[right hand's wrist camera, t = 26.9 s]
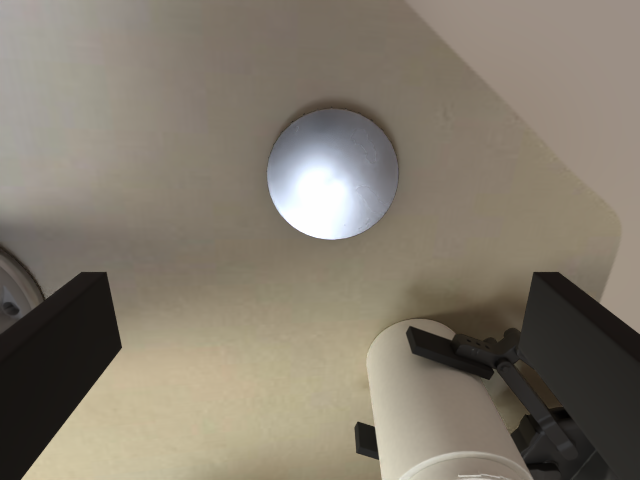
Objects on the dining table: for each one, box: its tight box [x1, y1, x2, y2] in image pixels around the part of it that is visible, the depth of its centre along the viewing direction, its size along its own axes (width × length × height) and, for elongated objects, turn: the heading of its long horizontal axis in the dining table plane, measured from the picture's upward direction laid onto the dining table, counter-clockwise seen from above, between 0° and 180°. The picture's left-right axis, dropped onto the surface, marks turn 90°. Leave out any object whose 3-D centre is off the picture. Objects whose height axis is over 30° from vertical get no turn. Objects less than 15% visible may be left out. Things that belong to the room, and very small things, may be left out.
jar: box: [367, 319, 534, 480], centre depth 32 cm, size 10×10×16 cm
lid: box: [267, 107, 399, 240], centre depth 32 cm, size 10×10×2 cm
